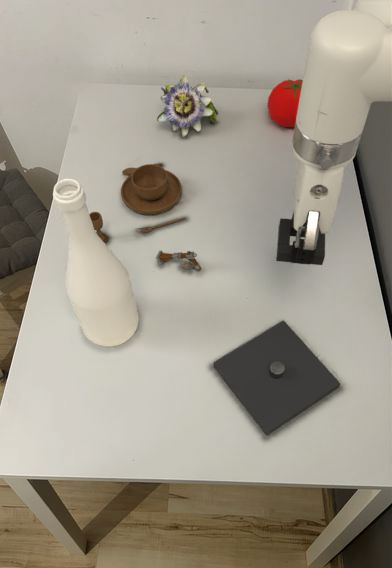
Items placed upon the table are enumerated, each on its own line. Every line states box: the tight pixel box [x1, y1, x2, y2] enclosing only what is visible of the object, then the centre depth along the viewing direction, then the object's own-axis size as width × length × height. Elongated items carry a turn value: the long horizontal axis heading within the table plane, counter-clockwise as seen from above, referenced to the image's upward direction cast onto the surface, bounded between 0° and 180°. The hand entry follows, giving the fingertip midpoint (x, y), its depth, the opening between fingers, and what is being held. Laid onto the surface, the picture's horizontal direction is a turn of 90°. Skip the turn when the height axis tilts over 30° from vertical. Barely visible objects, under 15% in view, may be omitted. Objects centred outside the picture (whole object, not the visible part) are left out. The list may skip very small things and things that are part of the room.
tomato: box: [266, 78, 303, 128], centre depth 106 cm, size 9×10×8 cm
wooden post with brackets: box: [155, 249, 202, 272], centre depth 89 cm, size 2×8×4 cm, turn 69°
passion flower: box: [156, 74, 219, 138], centre depth 107 cm, size 11×11×12 cm
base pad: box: [213, 319, 341, 436], centre depth 77 cm, size 14×14×3 cm
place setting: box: [89, 162, 186, 244], centre depth 96 cm, size 18×20×6 cm
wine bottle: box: [52, 178, 140, 348], centre depth 71 cm, size 10×10×30 cm
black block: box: [275, 217, 326, 266], centre depth 73 cm, size 7×7×2 cm
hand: (301, 241), depth 73 cm, fingers closed on black block, 6 cm apart
